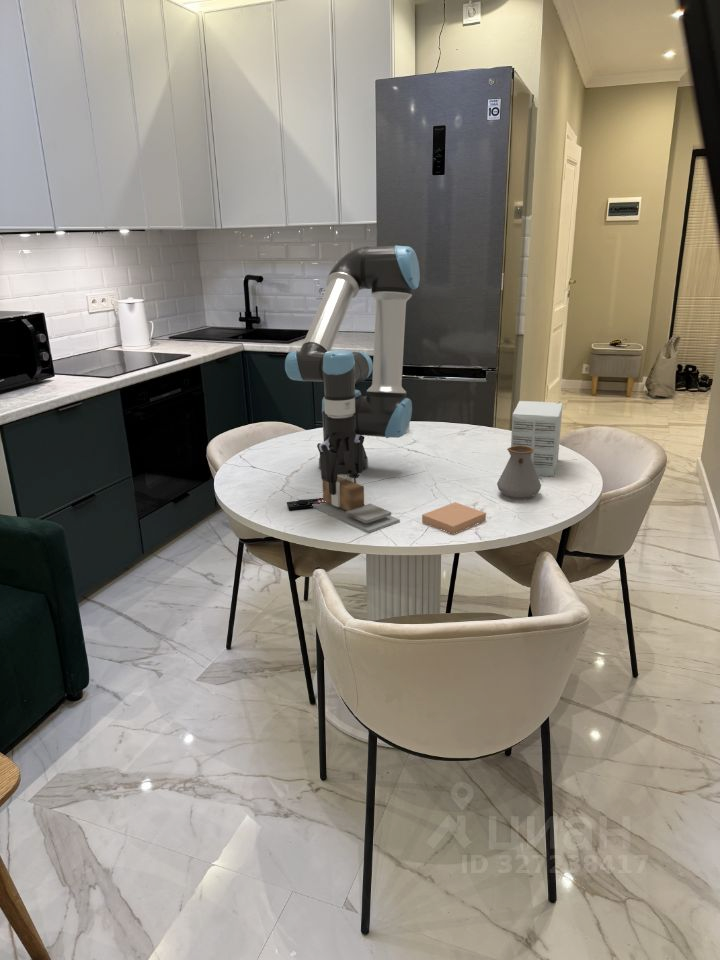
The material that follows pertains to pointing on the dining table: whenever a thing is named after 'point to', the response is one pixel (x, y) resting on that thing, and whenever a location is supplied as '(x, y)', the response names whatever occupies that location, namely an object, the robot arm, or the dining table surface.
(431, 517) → the tile
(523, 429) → the supplement box
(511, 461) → the coffee pot
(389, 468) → the dining table surface
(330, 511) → the rest mat
